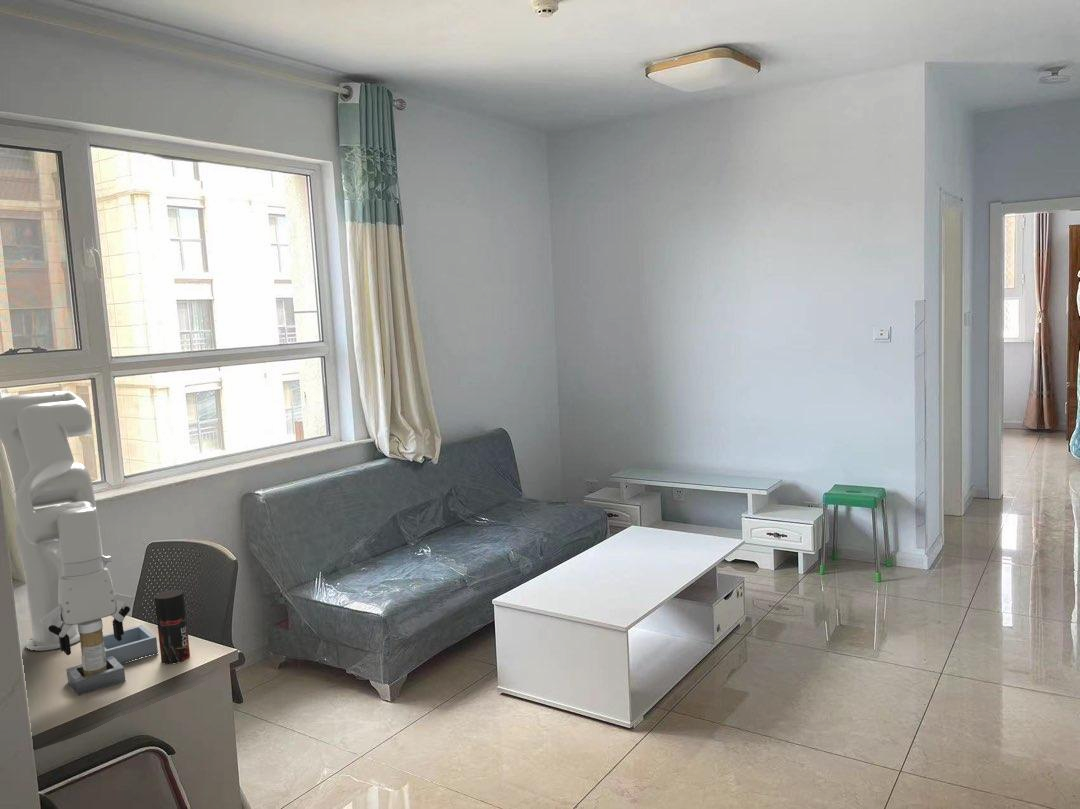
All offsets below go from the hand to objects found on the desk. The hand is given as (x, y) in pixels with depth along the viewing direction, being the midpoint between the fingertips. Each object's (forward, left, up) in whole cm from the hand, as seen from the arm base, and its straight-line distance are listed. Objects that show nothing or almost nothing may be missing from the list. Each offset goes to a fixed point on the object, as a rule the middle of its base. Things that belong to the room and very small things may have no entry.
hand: (93, 646), depth 172 cm
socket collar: (-1, 0, -8) cm, 8 cm away
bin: (-12, +8, -8) cm, 17 cm away
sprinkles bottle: (-1, 0, -8) cm, 8 cm away
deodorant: (0, +16, -8) cm, 18 cm away
